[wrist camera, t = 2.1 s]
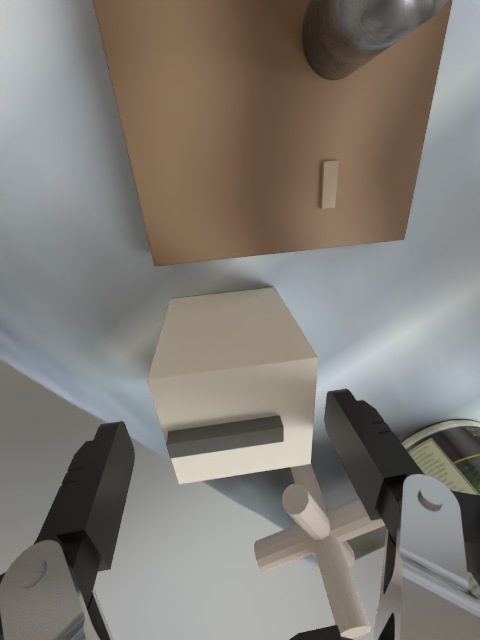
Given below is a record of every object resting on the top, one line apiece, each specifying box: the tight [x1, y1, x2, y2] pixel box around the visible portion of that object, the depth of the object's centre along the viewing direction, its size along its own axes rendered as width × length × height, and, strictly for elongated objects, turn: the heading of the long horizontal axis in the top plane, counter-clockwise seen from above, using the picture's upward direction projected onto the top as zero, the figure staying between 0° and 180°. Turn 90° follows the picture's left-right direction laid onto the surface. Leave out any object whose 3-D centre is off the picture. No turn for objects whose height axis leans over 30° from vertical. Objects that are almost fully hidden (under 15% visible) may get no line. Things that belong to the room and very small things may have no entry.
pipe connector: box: [254, 464, 385, 639], centre depth 20 cm, size 10×10×10 cm
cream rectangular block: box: [147, 287, 318, 484], centre depth 14 cm, size 6×6×8 cm
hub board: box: [93, 0, 452, 266], centre depth 11 cm, size 12×13×2 cm
